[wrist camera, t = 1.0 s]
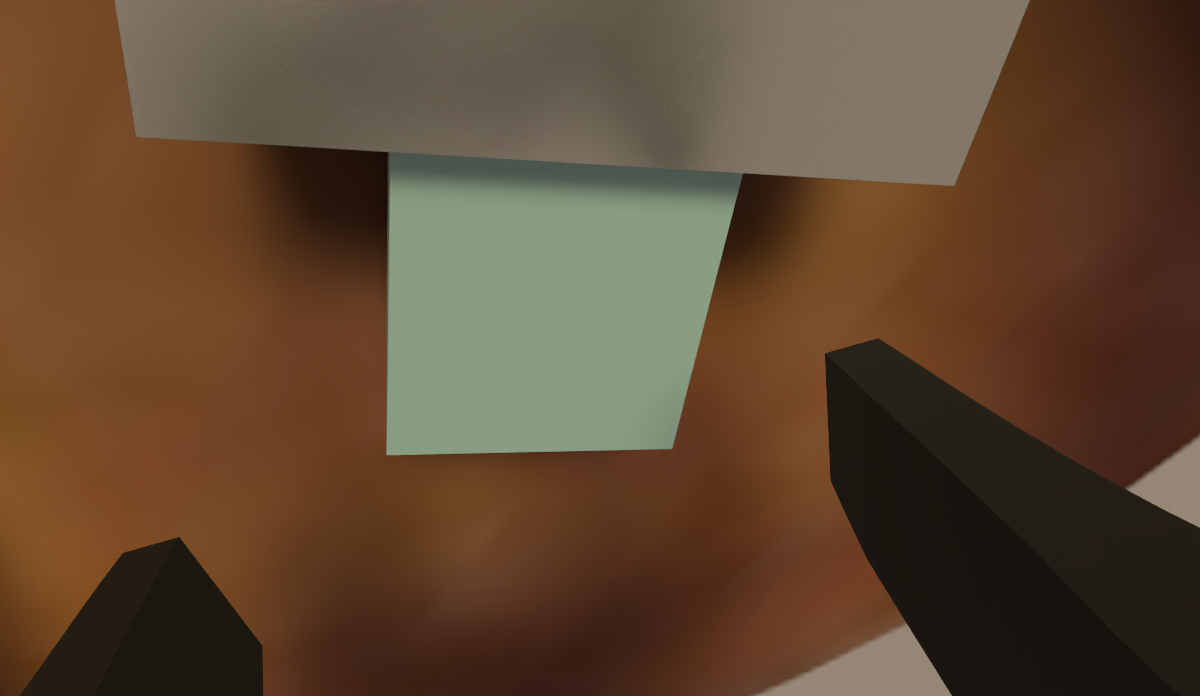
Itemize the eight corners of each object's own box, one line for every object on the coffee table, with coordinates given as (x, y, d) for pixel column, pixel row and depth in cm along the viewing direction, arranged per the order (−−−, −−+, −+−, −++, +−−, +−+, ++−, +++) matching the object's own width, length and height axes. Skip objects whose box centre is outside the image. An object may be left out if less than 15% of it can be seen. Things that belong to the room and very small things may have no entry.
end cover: (716, -231, 14) (840, -208, 10) (616, 305, 20) (671, 448, 16) (392, -289, 13) (395, -288, 9) (386, 299, 19) (386, 455, 15)
